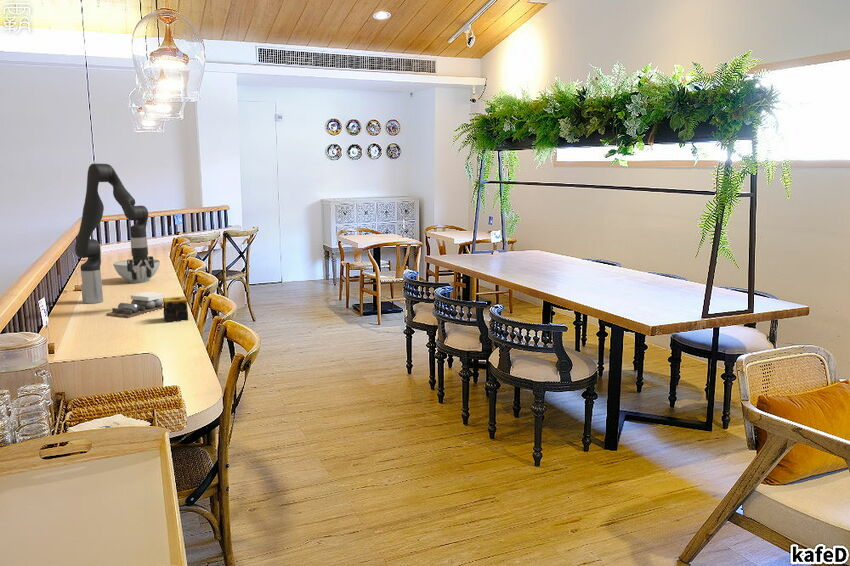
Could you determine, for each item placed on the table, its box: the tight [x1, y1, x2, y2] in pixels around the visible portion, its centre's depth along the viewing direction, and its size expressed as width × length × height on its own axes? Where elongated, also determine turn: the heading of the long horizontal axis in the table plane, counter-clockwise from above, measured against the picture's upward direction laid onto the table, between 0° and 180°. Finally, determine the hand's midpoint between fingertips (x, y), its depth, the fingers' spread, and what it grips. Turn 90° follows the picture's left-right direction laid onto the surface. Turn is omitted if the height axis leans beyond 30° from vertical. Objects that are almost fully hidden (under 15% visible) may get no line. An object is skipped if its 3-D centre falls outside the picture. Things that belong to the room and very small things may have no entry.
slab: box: [130, 291, 165, 301], centre depth 328 cm, size 12×10×2 cm
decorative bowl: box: [112, 258, 161, 284], centre depth 407 cm, size 27×27×12 cm
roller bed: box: [106, 298, 164, 319], centre depth 323 cm, size 14×24×5 cm, turn 156°
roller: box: [117, 302, 140, 313], centre depth 318 cm, size 10×4×4 cm, turn 67°
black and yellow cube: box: [162, 296, 189, 323], centre depth 306 cm, size 10×10×10 cm
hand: (141, 278), depth 325 cm, fingers open, 8 cm apart
